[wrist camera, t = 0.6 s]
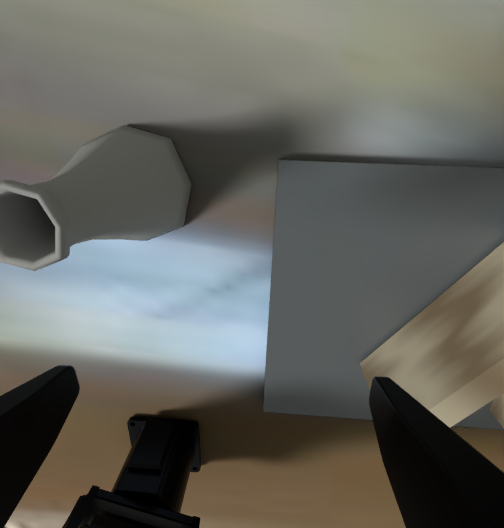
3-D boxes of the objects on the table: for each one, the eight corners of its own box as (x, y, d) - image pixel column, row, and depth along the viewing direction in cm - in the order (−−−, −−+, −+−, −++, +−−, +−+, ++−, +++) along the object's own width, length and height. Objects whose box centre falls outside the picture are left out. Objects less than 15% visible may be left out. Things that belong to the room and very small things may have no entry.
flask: (69, 129, 18) (-135, 119, 9) (184, 121, 18) (90, 102, 9) (99, 241, 21) (-35, 320, 12) (199, 237, 21) (141, 317, 11)
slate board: (501, 419, 25) (509, 430, 24) (263, 402, 26) (262, 411, 25) (623, 171, 17) (643, 173, 16) (278, 158, 18) (278, 160, 17)
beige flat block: (510, 236, 18) (617, 279, 12) (529, 253, 18) (641, 303, 13) (359, 363, 22) (388, 438, 17) (377, 375, 22) (411, 452, 17)
